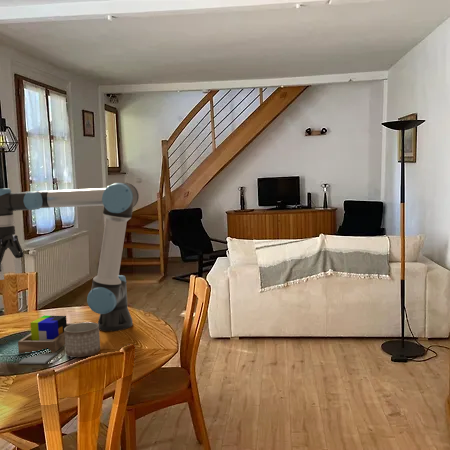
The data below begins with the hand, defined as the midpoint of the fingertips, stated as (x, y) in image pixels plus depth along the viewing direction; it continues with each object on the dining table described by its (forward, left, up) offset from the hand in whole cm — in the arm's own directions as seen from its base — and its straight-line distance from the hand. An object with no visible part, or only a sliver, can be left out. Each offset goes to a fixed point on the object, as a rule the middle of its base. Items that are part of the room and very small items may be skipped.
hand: (10, 276), depth 210 cm
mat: (-22, +24, -27) cm, 42 cm away
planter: (-37, +18, -27) cm, 49 cm away
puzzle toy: (-18, +6, -27) cm, 33 cm away
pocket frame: (-18, +6, -27) cm, 33 cm away
